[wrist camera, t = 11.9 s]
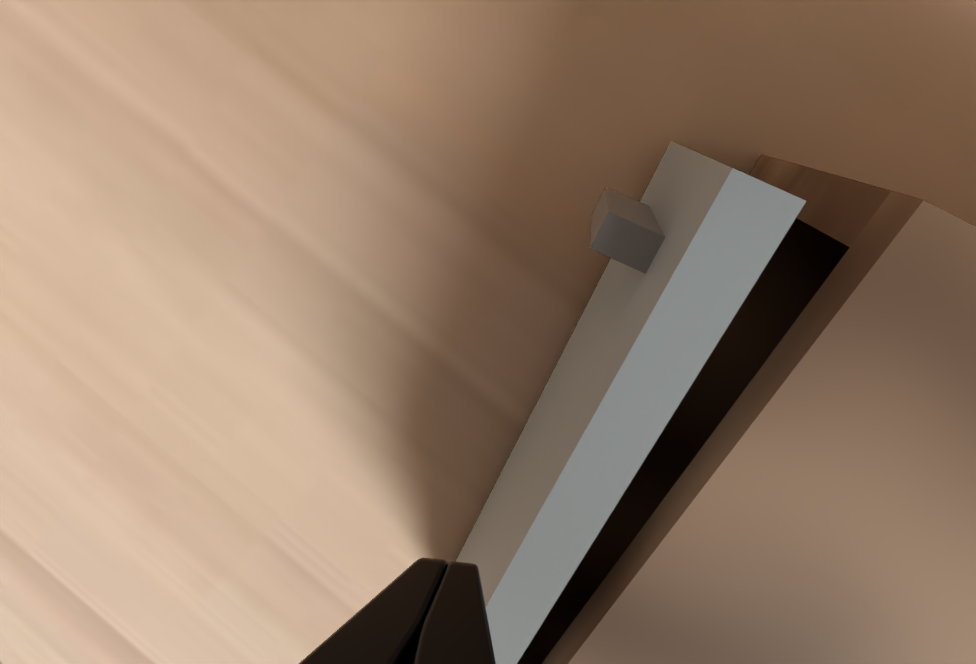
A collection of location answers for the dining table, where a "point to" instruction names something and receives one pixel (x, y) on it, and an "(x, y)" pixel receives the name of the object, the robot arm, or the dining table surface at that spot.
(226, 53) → the dining table surface
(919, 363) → the cabinet
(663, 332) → the cabinet door
